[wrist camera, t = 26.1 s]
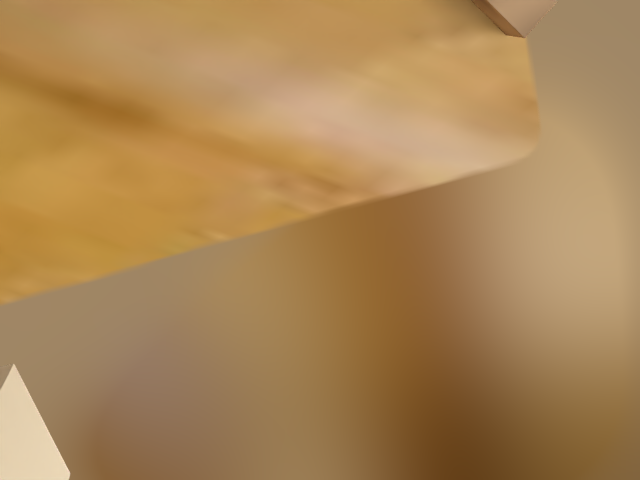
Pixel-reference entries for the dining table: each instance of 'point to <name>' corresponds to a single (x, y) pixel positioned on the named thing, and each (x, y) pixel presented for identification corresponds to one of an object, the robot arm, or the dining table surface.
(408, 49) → the dining table surface
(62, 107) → the dining table surface
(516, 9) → the walnut bar
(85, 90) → the dining table surface
